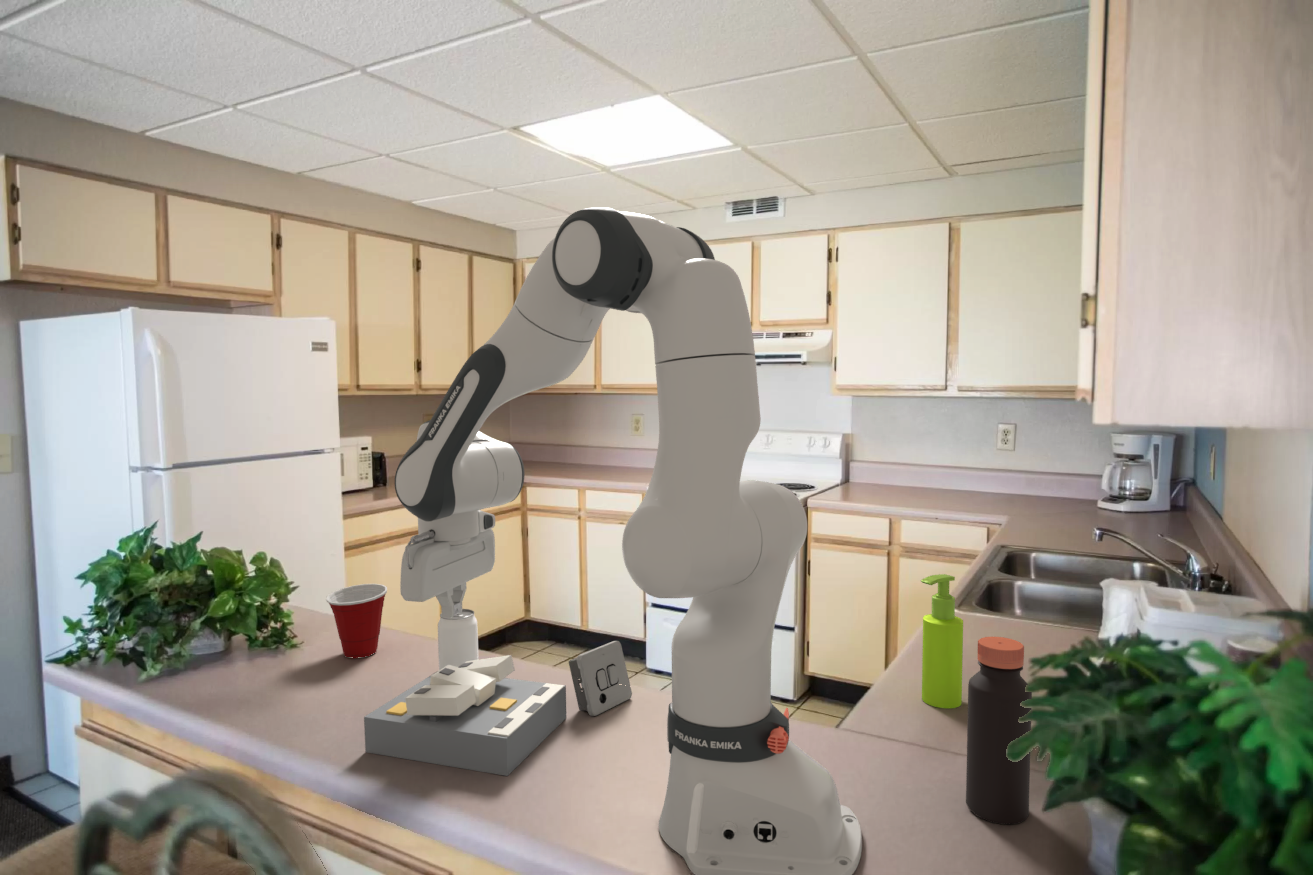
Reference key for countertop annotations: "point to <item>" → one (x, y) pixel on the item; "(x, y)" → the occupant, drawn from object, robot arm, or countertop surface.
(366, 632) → the plastic cup
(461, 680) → the rocker
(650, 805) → the countertop surface
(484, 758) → the switch unit
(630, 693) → the electrical switch
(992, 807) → the bottle
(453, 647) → the can
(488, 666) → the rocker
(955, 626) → the soap dispenser
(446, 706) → the rocker
